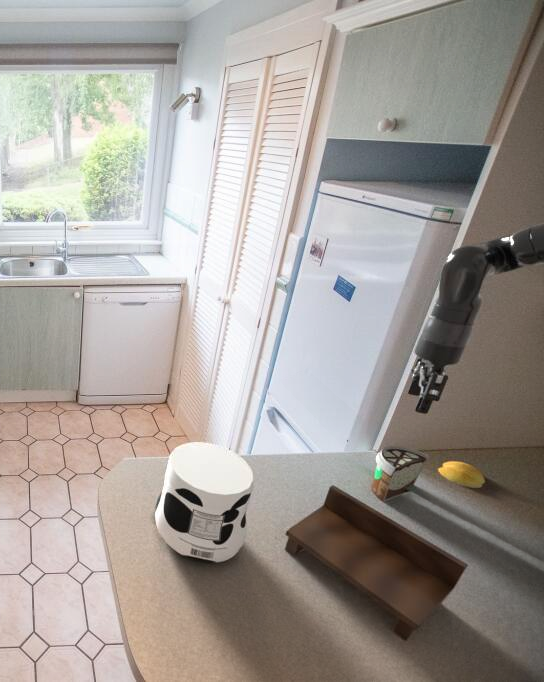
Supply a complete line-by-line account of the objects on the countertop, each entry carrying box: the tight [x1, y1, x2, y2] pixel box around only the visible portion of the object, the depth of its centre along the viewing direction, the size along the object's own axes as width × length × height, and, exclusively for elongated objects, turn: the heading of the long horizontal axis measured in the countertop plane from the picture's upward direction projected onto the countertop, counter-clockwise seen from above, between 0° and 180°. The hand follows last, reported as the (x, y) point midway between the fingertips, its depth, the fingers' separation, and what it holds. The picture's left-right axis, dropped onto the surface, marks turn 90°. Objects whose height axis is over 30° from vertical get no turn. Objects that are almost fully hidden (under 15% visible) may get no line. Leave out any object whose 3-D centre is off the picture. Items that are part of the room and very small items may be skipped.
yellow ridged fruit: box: [437, 460, 486, 489], centre depth 107 cm, size 8×9×4 cm
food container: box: [370, 445, 429, 503], centre depth 104 cm, size 12×6×10 cm, turn 111°
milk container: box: [154, 441, 254, 564], centre depth 90 cm, size 17×17×18 cm
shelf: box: [284, 484, 469, 642], centre depth 83 cm, size 22×14×10 cm, turn 31°
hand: (416, 403), depth 102 cm, fingers open, 8 cm apart
